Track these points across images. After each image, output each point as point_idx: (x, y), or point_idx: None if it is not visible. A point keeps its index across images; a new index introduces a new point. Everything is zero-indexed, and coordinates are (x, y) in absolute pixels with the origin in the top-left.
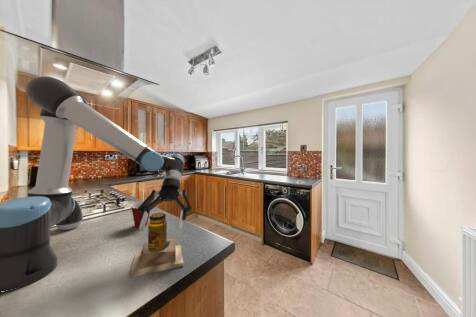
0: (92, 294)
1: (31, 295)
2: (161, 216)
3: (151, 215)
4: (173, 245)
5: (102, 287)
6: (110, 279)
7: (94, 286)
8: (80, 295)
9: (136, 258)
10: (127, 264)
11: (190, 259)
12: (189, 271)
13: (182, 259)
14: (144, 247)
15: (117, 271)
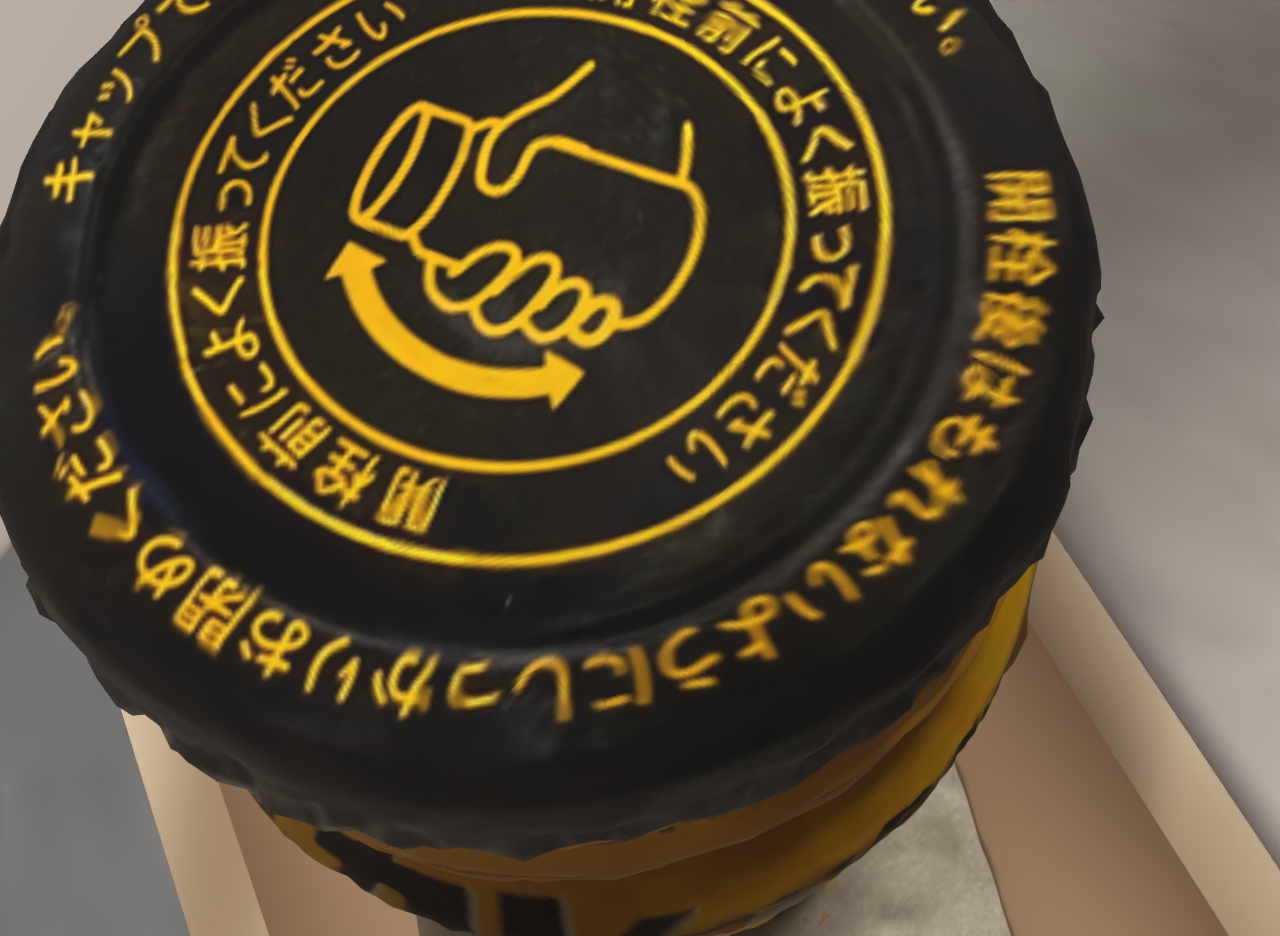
0: (1121, 37)
1: None
2: (122, 26)
3: (949, 77)
4: (300, 884)
5: (1111, 135)
6: (1149, 266)
7: (1240, 136)
8: (1252, 9)
9: (1124, 706)
10: (1213, 625)
11: (42, 911)
12: (13, 559)
13: (146, 765)
14: (1019, 699)
15: (1215, 431)
